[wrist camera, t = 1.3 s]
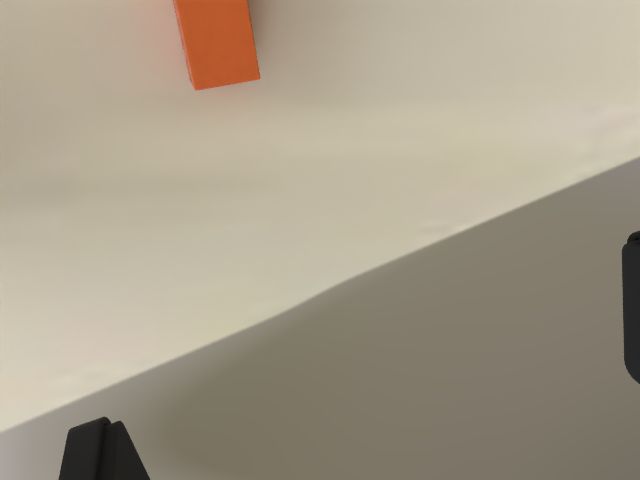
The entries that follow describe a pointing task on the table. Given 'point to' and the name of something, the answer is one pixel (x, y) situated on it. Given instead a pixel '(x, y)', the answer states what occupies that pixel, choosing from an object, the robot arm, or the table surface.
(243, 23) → the screwdriver
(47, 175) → the table surface
